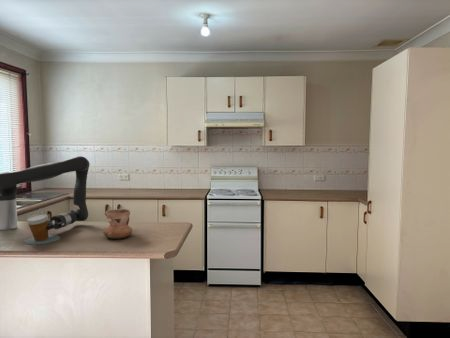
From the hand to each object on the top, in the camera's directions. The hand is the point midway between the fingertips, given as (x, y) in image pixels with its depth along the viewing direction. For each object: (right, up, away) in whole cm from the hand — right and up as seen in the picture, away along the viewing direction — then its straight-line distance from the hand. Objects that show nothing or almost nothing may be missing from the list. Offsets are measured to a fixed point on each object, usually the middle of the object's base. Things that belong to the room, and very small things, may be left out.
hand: (39, 227), depth 167 cm
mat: (0, -7, +2) cm, 7 cm away
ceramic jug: (+39, -6, +8) cm, 40 cm away
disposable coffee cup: (0, -6, +2) cm, 6 cm away
